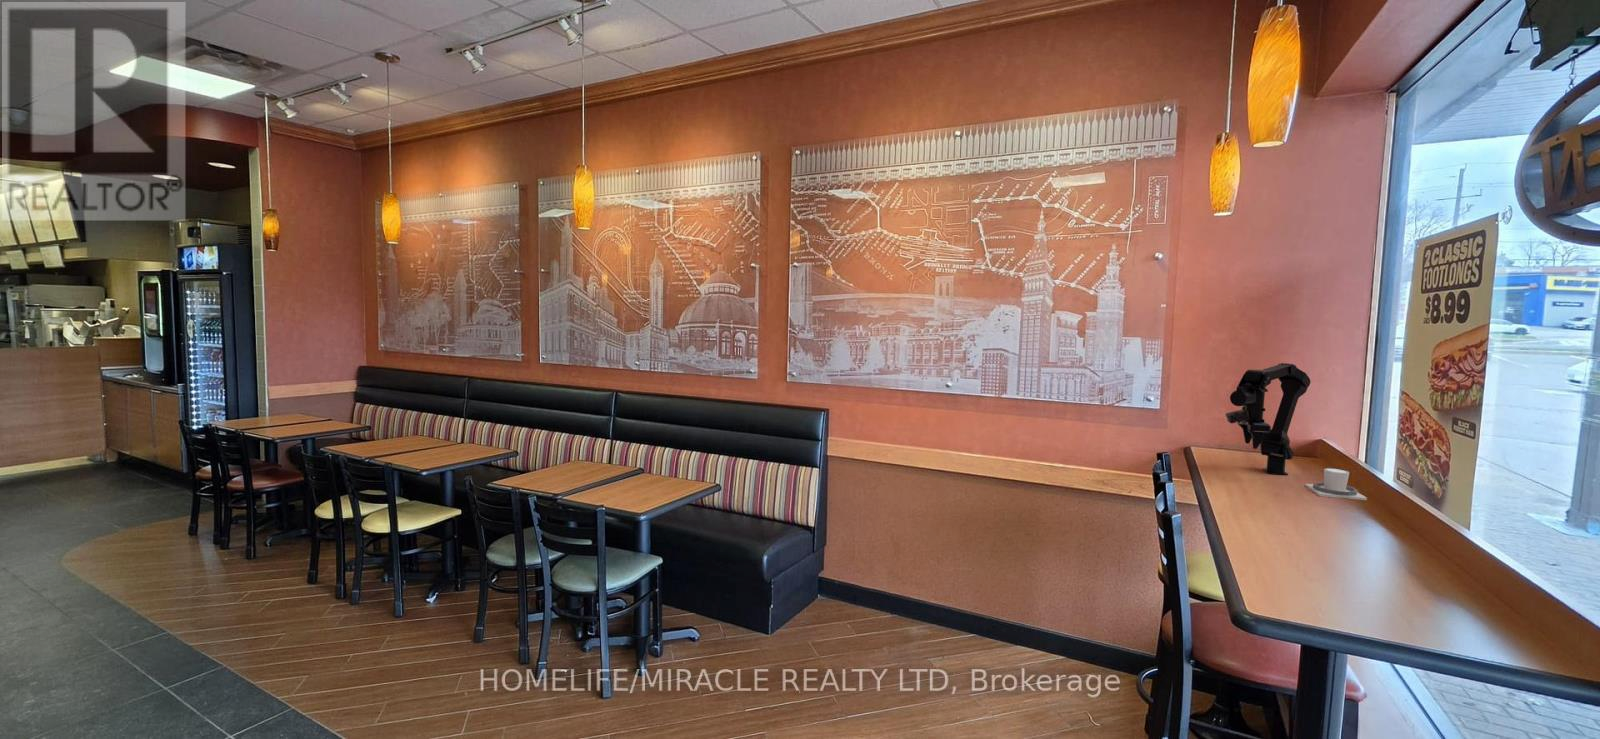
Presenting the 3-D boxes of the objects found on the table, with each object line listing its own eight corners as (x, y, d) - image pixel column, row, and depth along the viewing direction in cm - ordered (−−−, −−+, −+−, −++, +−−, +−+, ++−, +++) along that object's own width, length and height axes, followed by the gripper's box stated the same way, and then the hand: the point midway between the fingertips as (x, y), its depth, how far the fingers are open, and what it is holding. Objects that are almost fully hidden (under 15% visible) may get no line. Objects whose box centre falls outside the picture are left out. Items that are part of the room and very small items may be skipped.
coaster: (1304, 485, 234) (1305, 480, 234) (1349, 489, 230) (1349, 483, 230) (1319, 496, 222) (1320, 490, 222) (1366, 500, 218) (1367, 494, 218)
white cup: (1352, 493, 223) (1354, 473, 222) (1332, 493, 223) (1334, 473, 222) (1336, 487, 229) (1338, 468, 229) (1316, 487, 230) (1318, 467, 229)
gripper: (1222, 399, 253) (1219, 439, 255) (1236, 407, 236) (1232, 449, 237) (1256, 401, 249) (1252, 441, 251) (1272, 408, 232) (1269, 452, 234)
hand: (1250, 446), depth 243 cm, fingers open, 9 cm apart
